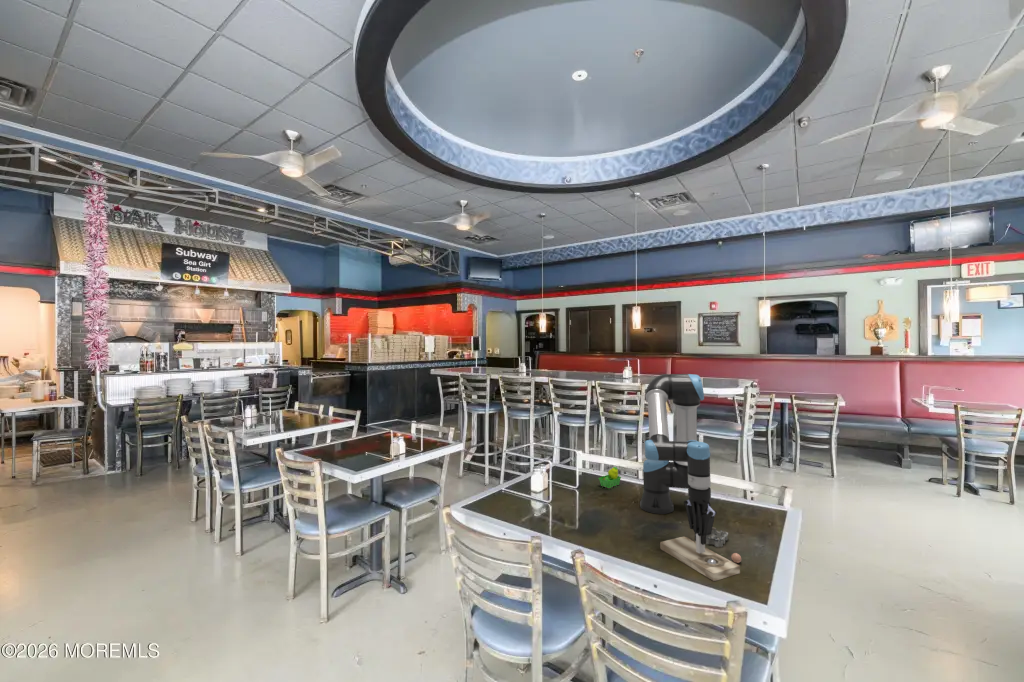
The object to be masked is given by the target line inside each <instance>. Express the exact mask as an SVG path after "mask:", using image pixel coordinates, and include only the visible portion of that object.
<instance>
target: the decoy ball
mask: <svg viewBox="0 0 1024 682" xmlns="http://www.w3.org/2000/svg"><path fill="white" fill-rule="evenodd" d="M730 557H731V561H732V562H734V563H736V564H739V563H741V562H742V557H741V555H740V554H739V553H737V552H734V553H731V556H730Z"/></svg>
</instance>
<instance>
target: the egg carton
mask: <svg viewBox="0 0 1024 682" xmlns="http://www.w3.org/2000/svg"><path fill="white" fill-rule="evenodd" d="M728 535H729V532H727V531H723V530H717V528H716V527H714V526H713V527H712V532H711V535H708V536H706V544H705V545H714V546H715V547H716V548H720V547H721V548H722V547H723V544H724V545H725V544H726V542H727V541H728Z"/></svg>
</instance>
